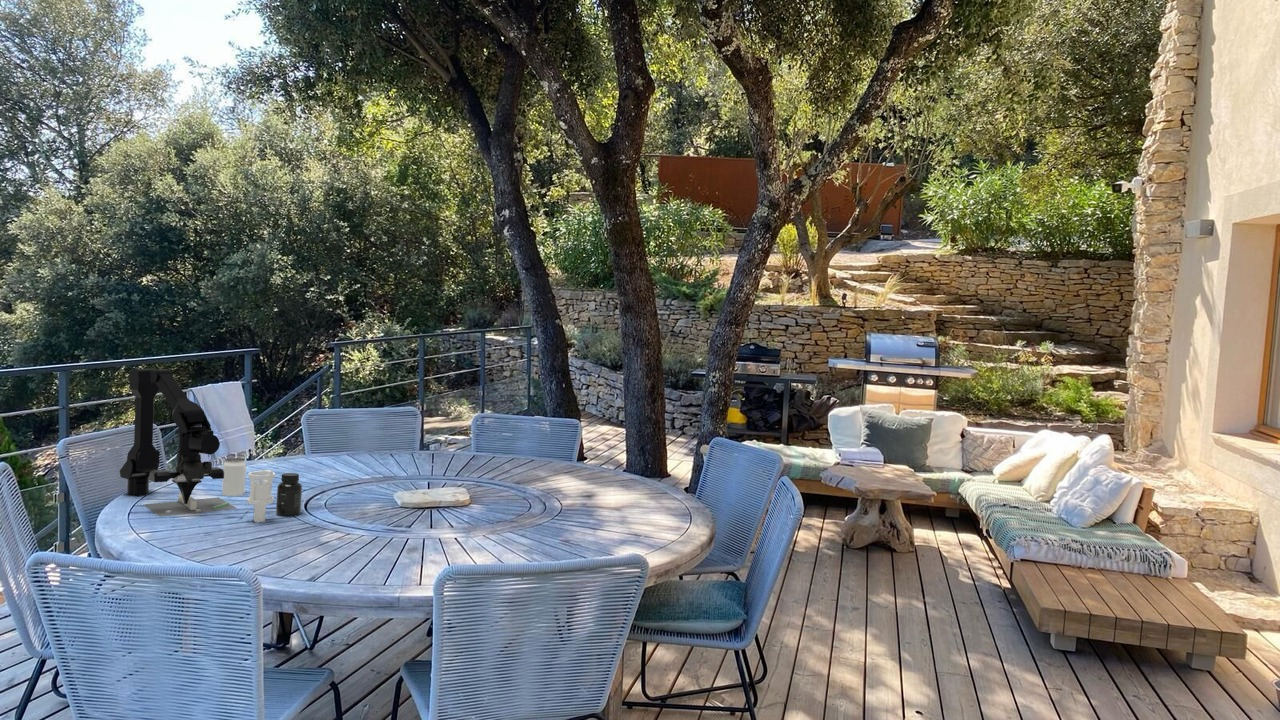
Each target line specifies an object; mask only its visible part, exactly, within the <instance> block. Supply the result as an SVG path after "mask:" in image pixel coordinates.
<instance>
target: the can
mask: <svg viewBox="0 0 1280 720" xmlns="http://www.w3.org/2000/svg"><path fill="white" fill-rule="evenodd" d="M246 464H247V463H246V461H245V458H241V457H229V458H225V459H224V462H223V468H222V470H223V471H224V478H223V479H222V486H221V487H222V489H221V491H222V492H221V494H222V496H226V497H239V496H244V495H245V489H246V474H247V473H246V470H247V467H246V466H247V465H246Z"/></svg>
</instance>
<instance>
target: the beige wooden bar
mask: <svg viewBox="0 0 1280 720" xmlns="http://www.w3.org/2000/svg"><path fill="white" fill-rule="evenodd" d="M177 501H178V502H179V503H183V504H184V500H183V497H182V494H181V492H179V493H178V496H177ZM184 505H185V506H186V507H188V508H189V509H190V510H195V509H196V508H197V501H196V499H195V498H194V497H192V496H191V495H190V497H189V500H188V502H187V504H184Z"/></svg>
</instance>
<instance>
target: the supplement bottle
mask: <svg viewBox="0 0 1280 720" xmlns="http://www.w3.org/2000/svg"><path fill="white" fill-rule="evenodd" d="M280 480H281V482H280V483H278V485H277V488H276V489H277V490H276V508H275V509H276V510H275V513H276V515H278V516H279V515H280V517H295V516H294V515H296V516H298V514H299V515H300V514H301V511H302V495H303V494H302V493H303V492H302V491H303V486H302V484H301V483H300V482H299V481H300V473H296V472H284V473H282V474H281V479H280Z"/></svg>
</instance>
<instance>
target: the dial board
mask: <svg viewBox="0 0 1280 720" xmlns="http://www.w3.org/2000/svg"><path fill="white" fill-rule="evenodd" d="M195 500H196V501H197V508H196V509H195V510H190V509H189V508H188V507H186V506H185V505H184V504H183V503H179V502H178V500H177V501H165V502H164V501H163V502H156V503H147V504H146V503H145V504H142V506H145V508H146V509H148V510H150V511H151V512H153V513H154V514H156V516H158V517H161V518H162V517H168V516H169V517H170V516H179V515H186V514H187V515H188V514H196V513H197V514H198V513H207V512H216V511H217V512H218V511H223V510H224V511H226V510H236V509H238V508H237V507H236V506H234V505H232V504H231V503H230V502H227V501H226V500H224V499H222V498H220V497H209V498H206V497H205V498H198V499H197V498H196V499H195Z"/></svg>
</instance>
